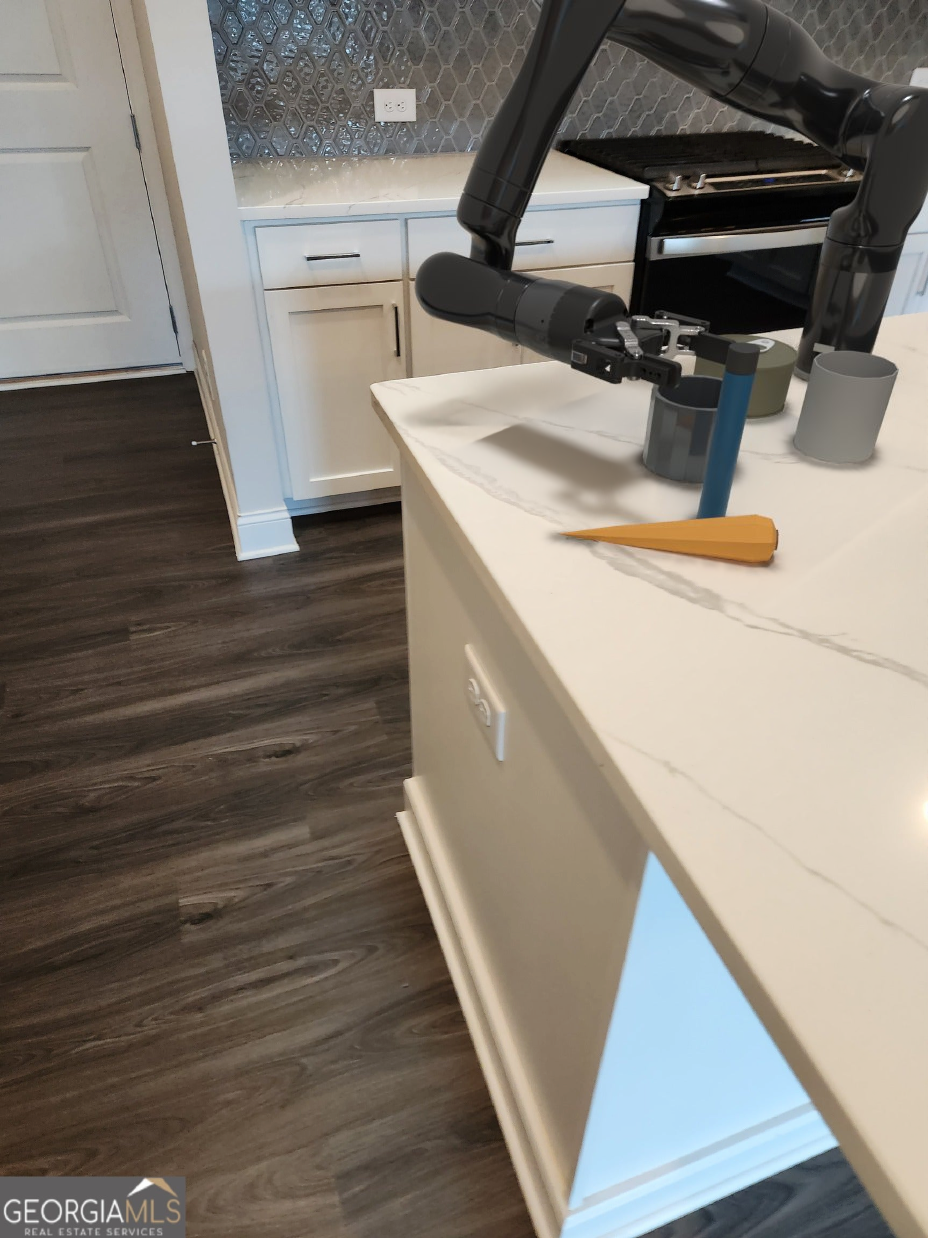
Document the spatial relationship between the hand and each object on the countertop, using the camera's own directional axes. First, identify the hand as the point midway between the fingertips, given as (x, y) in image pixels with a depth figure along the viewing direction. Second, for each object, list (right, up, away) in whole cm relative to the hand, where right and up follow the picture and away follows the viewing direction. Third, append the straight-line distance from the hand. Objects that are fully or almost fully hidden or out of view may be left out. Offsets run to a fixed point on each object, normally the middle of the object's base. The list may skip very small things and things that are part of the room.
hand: (707, 364), depth 74 cm
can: (+13, +5, +31) cm, 34 cm away
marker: (+2, -14, +7) cm, 15 cm away
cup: (+20, -4, +20) cm, 29 cm away
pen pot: (+3, -6, +17) cm, 18 cm away
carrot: (-3, -16, +4) cm, 17 cm away
